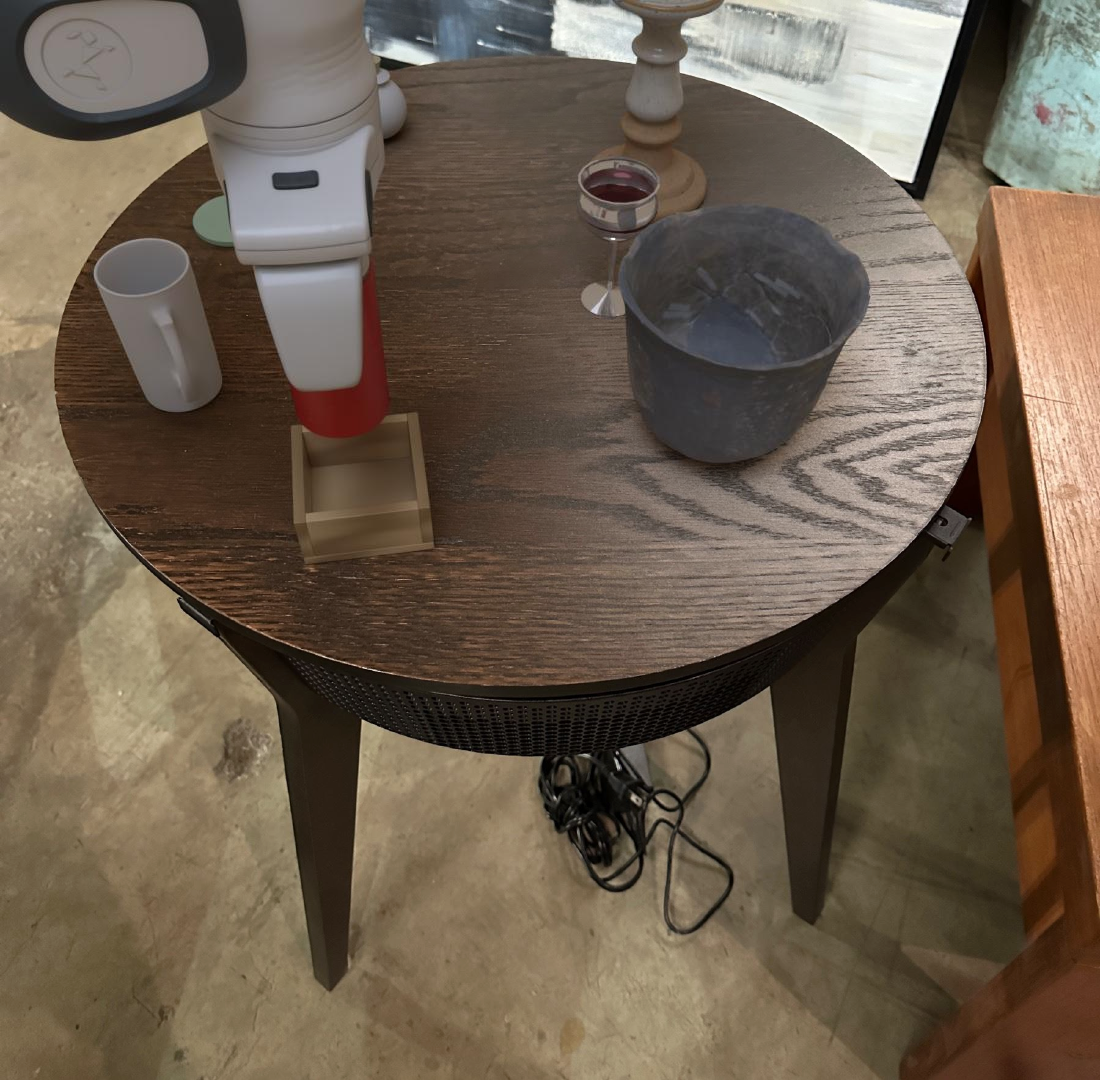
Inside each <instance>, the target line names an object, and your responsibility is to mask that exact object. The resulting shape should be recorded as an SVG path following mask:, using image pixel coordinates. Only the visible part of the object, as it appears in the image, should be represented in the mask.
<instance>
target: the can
mask: <svg viewBox="0 0 1100 1080" xmlns="http://www.w3.org/2000/svg"><path fill="white" fill-rule="evenodd" d="M377 290H378V289H377V282H376V274H375V266H374V261H373V259H372V257H371V256H370V254H369V255H366V256H363V273H362V296H363V365H362V375H361V379H360V381H359V383H358V384H357V385H356V386H354V387H351V388H345V389H337V390H329V391H314V392H302V391H299V390H297V389H296V388H295V387H294V386H293V385H292V384H291V383H290V381H289V380H288V383H289V388H290V393H291V397H292V401H293V407H294V411H295V415H296V418H297V420H298V422H299V423H300V425H303V426H304V427H305V428H306V429H308V430H309V431H311V432H313V433H315V434H317V435H320V436H323V437H328V438H350V437H355V436H358V435H361V434H364V433H366V432H368V431H370V430H372V429H373V428H375V427H376V426H377V425H379V424H380V423H381V422H382V420H383V419H384V418H385V416H387V414H388V412H389V409H390V405H391V402H390V401H391V400H390V392H389V383H388V375H387V366H386V357H385V349H384V341H383V334H382V324H381V317H380V307H379V297H378V291H377Z"/></svg>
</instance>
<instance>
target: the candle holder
mask: <svg viewBox="0 0 1100 1080" xmlns="http://www.w3.org/2000/svg"><path fill="white" fill-rule="evenodd" d="M611 1H612V3H614V4H615V5H617V6H618V7H619V8H621V9H623V10H625V11H626V12H629V13H632V14H634V15H637V16H638V17H639V18H640V19H641V24H642V28H641V31H640V33H638V34H637V35H636V36H635V37H634V38H633V40H632V41H631V51H632V53H633V54H634V56H635V57H636V62H635V65H634V68H633V72H632V75H631V78H630V80H629V82H628V84H627V87H626V89H625V92H624V104H625V107H626V109H627V112H626V113H624V114H623V116H622V117H621V118H620V122H619V127H620V131H621V133H622V134H623V135H624V137H625V143H621V144H618V145H614V146H611V147H609V148H606V149H605V150H603V151H600V152H599V153H597V154H596V155H595V156H594V157H593V158H591V160H589V162H588V164H589V163H590V162H592V161H595V160H598V159H601V158H608V157H626V158H630V159H635V160H638V161H640V162H643V163H645V164H647V165H649V166H650V167H651V168H652V169H654V170H655V171H656V173H657V174H658V176H659V178H660V187H659V189H658V191H657V197H658V210H657V214H656V216H655V218H654V220H653V222H652V223H651V225H652V224H653V223H655V222H657V221H658V220H661V219H663V218H666V217H668V216H670V215H676V213H677V212H691V211H694V210H697V209H699V208H700V206H701V205H702V204H703V202H704V199H705V198H706V196H707V195H706V194H707V190H708V180H707V177H706V174H705V171H704V169H703V168H702V167H701V165H700V164H699V163H698V162H697V161H696V160H694V159H693V157H691V156H689V155H688V154H686V153H685V152H683V151H680V150H679V149H676V148H675V147H673V146H674V145H673V142H675V140H677V139H678V138H679V137H680V135H681V133H682V131H683V124H682V120H681V119H680V117H679V116H678V115H679V113H680V112H681V110H682V108H683V106H684V101H685V99H684V98H685V97H684V91H683V85H682V79H681V69H680V68H681V67H680V61H682V60H683V59H684V58H685V57H686V55H687V54H688V51H689V45H688V43H687V41H686V40H685V38H683V37H682V28H683V25H684V23H685V22H687V21H688V20H689V19H690V20H691V19H697V18H700V17H703V16H707V15H708V14H711V13H713V12H714V11H717V10H718V9H719V8H721V6H722V5H723V4H724V3H725V0H611Z"/></svg>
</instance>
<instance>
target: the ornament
mask: <svg viewBox="0 0 1100 1080" xmlns="http://www.w3.org/2000/svg"><path fill="white" fill-rule="evenodd" d="M372 56H373V59H374V62H375V67H376V72H377V84H378V92H379V101H380V111H381V122H382V132H383V140H385V139H386V140H387V139H389V138H392V137H393V136H395V135H396V134H398V132H399V131H400V130H401V129H402V127H404V124H405V122H406V118H407V113H408V105H407V100H406V97H405V95H404V92H403V91H402V90H401V88H400V87H399V85H398V84H397V83H395V82H394V81H393V80H391V79H390V77H391V74H390V72H389V71H388V70H386V69H384V68H382V67H380V65H381V60H382V59H381V56H379V55H375V54H372Z"/></svg>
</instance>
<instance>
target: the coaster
mask: <svg viewBox="0 0 1100 1080" xmlns="http://www.w3.org/2000/svg"><path fill="white" fill-rule="evenodd" d="M192 226H193V230H194V233H195V234H196V235H197V236H198V238H199V239H200V240H201V241H204V242H205V243H208V244H210V245H212V246H216V247H217V246H218V247H223V248H225V247H226V248H230V247H234V244H233V239H232V234H231V229H230V224H229V218H228V210H227V201H226V197H225V195H224V194H223V195H221V196H220V195H219V196H216V197H214V198H212V199H210V200H208V201H206V202H204V203H202V204H201V206H199V207H198V208H197V210H195V213H194V215H193V217H192Z"/></svg>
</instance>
